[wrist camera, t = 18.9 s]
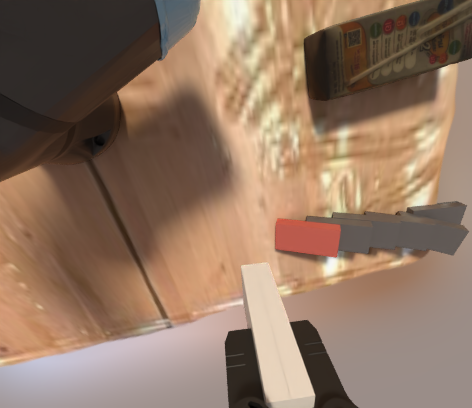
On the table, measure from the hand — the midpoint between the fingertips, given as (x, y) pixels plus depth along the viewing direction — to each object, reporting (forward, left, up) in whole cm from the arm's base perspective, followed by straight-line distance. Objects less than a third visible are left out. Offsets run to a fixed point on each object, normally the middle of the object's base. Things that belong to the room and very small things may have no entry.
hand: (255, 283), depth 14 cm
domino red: (+8, -13, -26) cm, 30 cm away
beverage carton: (+21, +14, -27) cm, 37 cm away
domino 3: (+23, -13, -25) cm, 37 cm away
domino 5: (+29, -14, -25) cm, 41 cm away
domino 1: (+13, -13, -25) cm, 31 cm away
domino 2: (+18, -13, -26) cm, 34 cm away
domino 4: (+32, -14, -26) cm, 43 cm away
